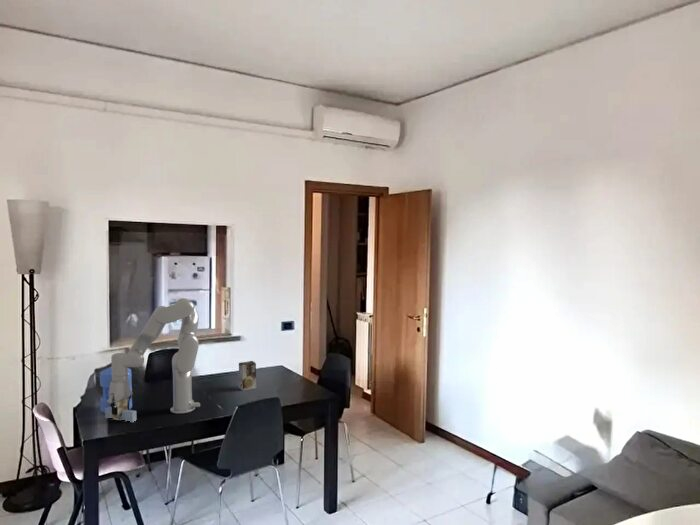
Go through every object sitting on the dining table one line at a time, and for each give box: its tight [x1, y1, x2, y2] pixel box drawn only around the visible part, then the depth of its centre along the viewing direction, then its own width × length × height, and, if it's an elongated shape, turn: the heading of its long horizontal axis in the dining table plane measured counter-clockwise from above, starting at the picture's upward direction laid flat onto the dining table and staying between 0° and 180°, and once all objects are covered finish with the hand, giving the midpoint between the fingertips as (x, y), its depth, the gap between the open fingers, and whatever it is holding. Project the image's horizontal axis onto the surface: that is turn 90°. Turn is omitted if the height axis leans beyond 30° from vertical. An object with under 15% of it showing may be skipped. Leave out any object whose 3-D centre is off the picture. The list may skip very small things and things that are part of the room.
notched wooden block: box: [112, 399, 128, 421], centre depth 258 cm, size 7×3×9 cm, turn 160°
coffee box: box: [238, 360, 257, 392], centre depth 311 cm, size 9×6×16 cm
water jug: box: [99, 365, 133, 414], centre depth 273 cm, size 16×16×28 cm
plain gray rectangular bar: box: [104, 407, 138, 423], centre depth 258 cm, size 18×3×5 cm, turn 69°
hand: (120, 411), depth 258 cm, fingers closed on notched wooden block, 7 cm apart
